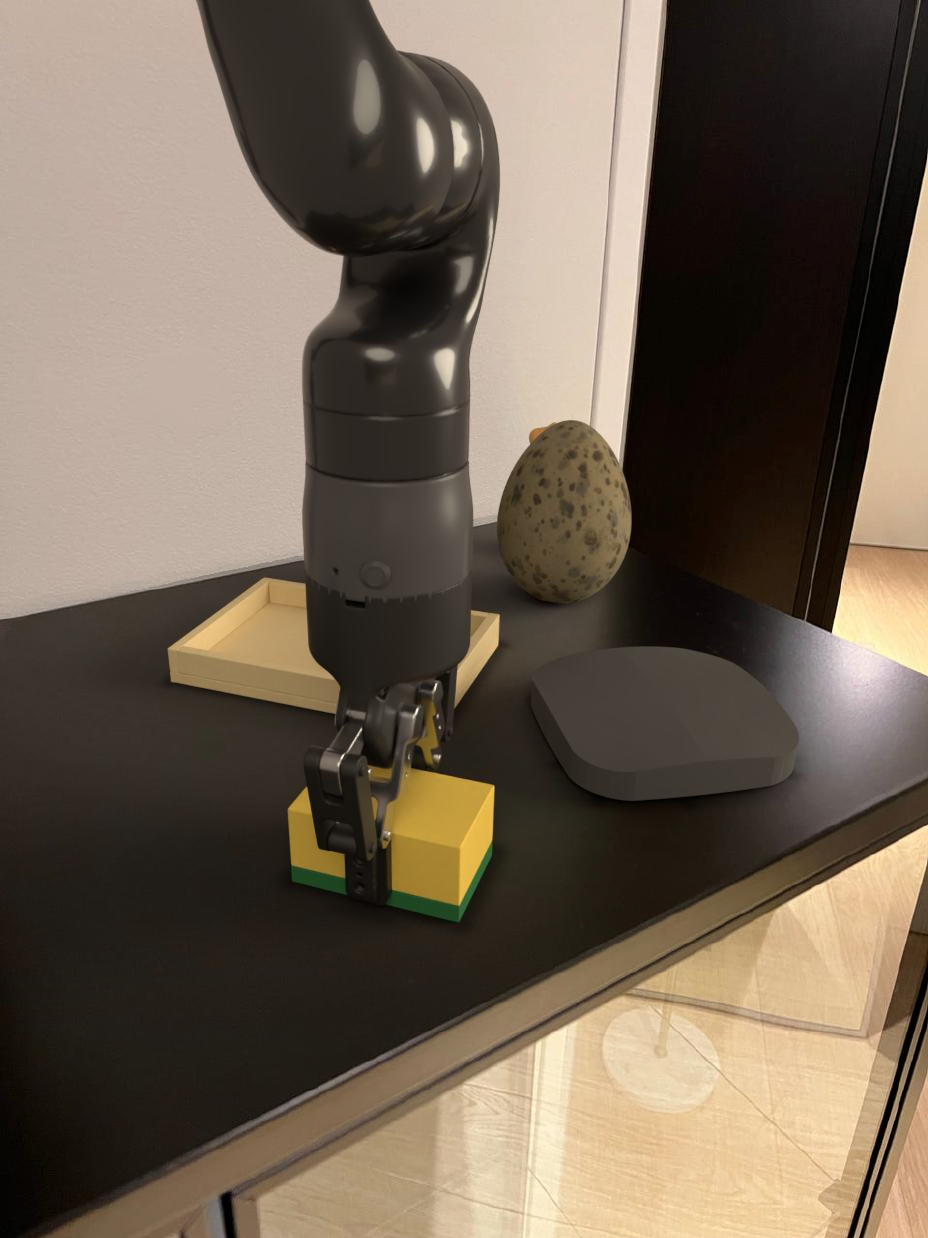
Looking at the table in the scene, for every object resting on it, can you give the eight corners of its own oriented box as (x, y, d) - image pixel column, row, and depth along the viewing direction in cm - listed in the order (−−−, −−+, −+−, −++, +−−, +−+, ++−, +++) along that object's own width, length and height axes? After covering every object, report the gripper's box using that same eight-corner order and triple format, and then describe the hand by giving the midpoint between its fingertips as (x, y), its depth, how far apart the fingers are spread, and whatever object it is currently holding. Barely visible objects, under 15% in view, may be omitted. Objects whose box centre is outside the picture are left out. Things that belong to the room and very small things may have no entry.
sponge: (291, 881, 52) (286, 808, 50) (337, 820, 56) (334, 751, 55) (459, 923, 49) (460, 848, 47) (492, 855, 54) (495, 784, 52)
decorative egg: (644, 620, 81) (663, 435, 75) (514, 631, 79) (523, 441, 73) (597, 570, 91) (611, 402, 84) (480, 578, 88) (485, 406, 82)
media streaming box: (582, 814, 57) (586, 769, 56) (516, 690, 70) (518, 651, 69) (817, 788, 60) (826, 744, 59) (713, 673, 73) (718, 636, 72)
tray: (170, 682, 70) (166, 648, 69) (266, 606, 82) (264, 576, 81) (437, 734, 65) (437, 698, 64) (498, 645, 77) (499, 614, 75)
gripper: (374, 500, 53) (379, 774, 60) (232, 606, 40) (259, 936, 47) (513, 518, 51) (501, 800, 58) (408, 635, 38) (409, 976, 45)
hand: (392, 860), depth 53 cm, fingers closed on sponge, 5 cm apart
